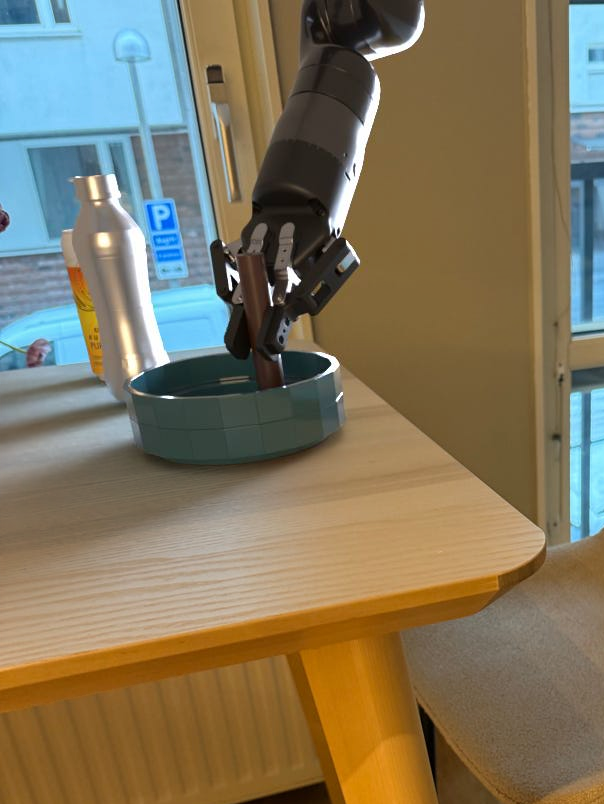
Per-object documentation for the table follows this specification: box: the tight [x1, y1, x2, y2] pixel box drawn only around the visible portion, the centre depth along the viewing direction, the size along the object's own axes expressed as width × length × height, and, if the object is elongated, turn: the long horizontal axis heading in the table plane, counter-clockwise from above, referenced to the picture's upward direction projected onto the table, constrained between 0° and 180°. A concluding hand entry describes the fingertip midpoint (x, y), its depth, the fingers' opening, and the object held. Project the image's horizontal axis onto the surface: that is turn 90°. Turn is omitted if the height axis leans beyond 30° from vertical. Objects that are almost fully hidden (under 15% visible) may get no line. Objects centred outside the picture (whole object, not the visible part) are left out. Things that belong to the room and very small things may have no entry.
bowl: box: [122, 349, 347, 466], centre depth 77 cm, size 17×17×6 cm
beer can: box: [60, 228, 105, 382], centre depth 99 cm, size 6×6×15 cm
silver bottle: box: [72, 174, 171, 403], centre depth 87 cm, size 6×7×20 cm
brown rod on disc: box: [235, 252, 285, 391], centre depth 74 cm, size 6×6×13 cm
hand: (250, 354), depth 73 cm, fingers closed on brown rod on disc
